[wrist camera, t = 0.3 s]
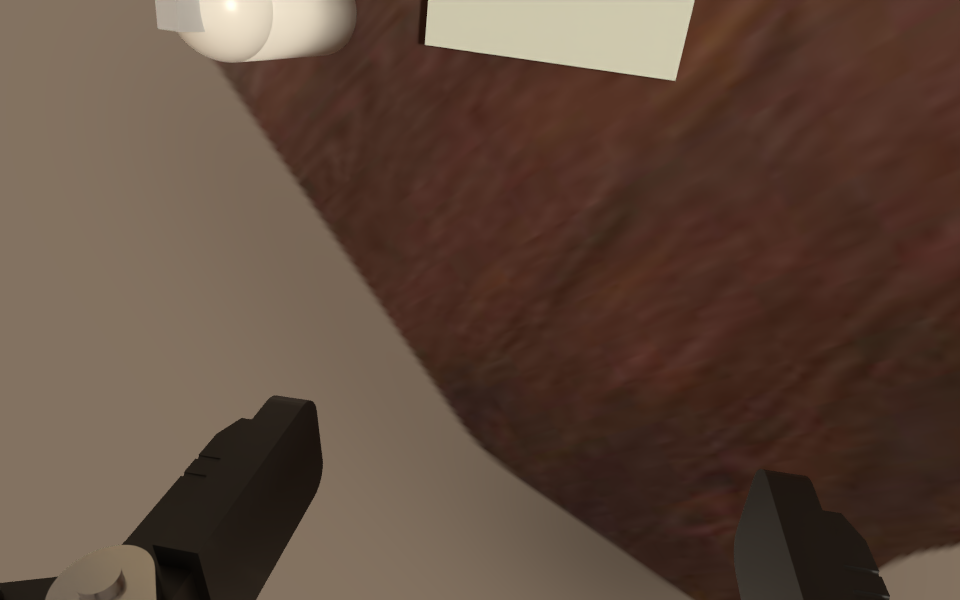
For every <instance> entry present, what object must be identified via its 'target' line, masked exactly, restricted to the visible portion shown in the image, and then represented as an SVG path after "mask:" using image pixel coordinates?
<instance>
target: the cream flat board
mask: <svg viewBox="0 0 960 600" xmlns="http://www.w3.org/2000/svg"><path fill="white" fill-rule="evenodd" d="M693 4H694V0H428V9H427V23H426V36H425V45H430V46H437V47H444V48H451V49H458V50H465V51H472V52H479V53H486V54H493V55H500V56H507V57H513V58H520V59H527V60H534V61H541V62H548V63H555V64H562V65H569V66H576V67H583V68H590V69H597V70H604V71H611V72H618V73H625V74H632V75H639V76H646V77H653V78H660V79H667V80H673V81H675V80H676V76H677V72H678V67H679V63H680V59H681V55H682V51H683V46H684V42H685V38H686V34H687V30H688V25H689V21H690V17H691V13H692V9H693Z"/></svg>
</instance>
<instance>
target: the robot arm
mask: <svg viewBox="0 0 960 600" xmlns="http://www.w3.org/2000/svg"><path fill="white" fill-rule="evenodd" d="M322 469H323V459H322V451H321V444H320V434H319V426H318V417H317V410H316V406H315V404H314V402H313V401H309V400H303V399H296V398H289V397H283V396H272V397H270V398H269V399H268V400H267V401H266V403H265V404H264V405H263V407H262V408H261V409H260V410H259V412H258V413H257V414H256V415H255V416H254V418H253V419H252V420H251V419H245V418H241V419H239V420H238V421H236V422H235V423H233V424H232V425H230V426H228V427H227V428H225V429H224V430H222V431H221V432H219V433H217V434H216V435H215V436H214V438H213V439H212V440H211V441H210V442H209V443H208V445H207V446H206V447H205V448H204V449H203V451H202V452H201V453H200V454H199V458H198V459H195V460H194V461H193V462H192V463H191V465H190V466H189V467H188V468H187V469H186V470H185V472H184V476H180V478H179V479H178V480H177V481H176V482H175V483H174V485H173V486H172V487H171V488H170V489H169V490H168V492H167V493H166V494H165V495H164V496H163V497H162V499H161V500H160V501H159V502H158V503H157V505H156V506H155V507H154V508H153V509H152V511H151V512H150V513H149V514H148V515H147V516H146V518H145V519H144V520H143V521H142V522H141V523H140V525H139V526H138V527H137V528H136V530H135V531H134V532H133V533H132V534H131V535H130V536H129V537H128V539H127V540H126V541H125V542H124V543H123V544H122V545H116V546H110V547H106V548H102V549H99V550H96V551H94V552H92V553H90V554H88V555H86V556H84V557H82V558H80V559H79V560H77V561H76V562H74V563H73V564H71V565H70V566H69V567H67V568H66V569H65V570H64V571H63V572H62V573H61V574H60V575H59V576H58V577H52V578H44V579H34V580H24V581H15V582H7V583H0V600H256V599H257V597H258V595H259V593H260V591H261V589H262V588H263V586H264V584H265V582H266V581H267V579H268V577H269V576H270V574H271V572H272V570H273V569H274V567H275V565H276V563H277V561H278V560H279V558H280V556H281V554H282V553H283V551H284V549H285V547H286V546H287V544H288V542H289V540H290V539H291V537H292V535H293V533H294V531H295V530H296V528H297V526H298V524H299V523H300V521H301V519H302V517H303V515H304V514H305V512H306V510H307V509H308V507H309V505H310V503H311V501H312V500H313V498H314V496H315V494H316V492H317V489H318V487H319V484H320V480H321V476H322ZM734 563H735V570H736V576H737V581H738V586H739V591H740V596H741V600H889V597H890V595H889V593H888V591H887V589H886V586H885V584H884V581H883V579H882V577H879V574H878V573H879V570H878V568H877V565H876V563H875V561H874V559H873V556H872V554H871V552H870V549H869V547H868V545H867V542H866V541H865V540H864V538H863V537H862V536H861V535H860V534H859V533H858V532H857V531H856V529H855V528H854V527H853V526H852V525H851V524H850V523H849V522H848V521H847V519H846V518H845V517H844V516H843V515H842V514H841V513H836V512H829V511H823V510H822V508H821V505H820V503H819V500H818V497H817V495H816V492H815V489H814V487H813V484H812V482H811V480H810V479H809V478H808V477H807V476H803V475H796V474H789V473H782V472H776V471H769V470H762V469H760V470H758V471H757V472H756V474H755V476H754V479H753V482H752V485H751V488H750V491H749V494H748V497H747V500H746V503H745V506H744V510H743V513H742V516H741V519H740V522H739V525H738V528H737V531H736V536H735V544H734Z"/></svg>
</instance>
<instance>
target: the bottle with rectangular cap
mask: <svg viewBox="0 0 960 600" xmlns="http://www.w3.org/2000/svg"><path fill="white" fill-rule="evenodd" d="M155 6H156V17H157V27H158V29H163V30H169V31H176V32H177V33H178V34H179V36H180V37H181V38H182V39H183V40H184V41H185V42H186V43H187V44H188V45H189V46H190V47H191V48H193V49H194V50H196V51H197V52H198V53H200V54H202V55H204V56H206V57H208V58H211V59H213V60H217V61H221V62H246V61H260V60H273V59H286V58H299V57H312V56H325V55H330V54H333V53H336V52H337V51H339V50H341V49H342V48H343V47H344V46H345V45H346V44H347V43H348V41H349V40H350V38H351V36H352V34H353V32H354V29H355V25H356V18H357V9H356V3H355V0H155Z"/></svg>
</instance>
